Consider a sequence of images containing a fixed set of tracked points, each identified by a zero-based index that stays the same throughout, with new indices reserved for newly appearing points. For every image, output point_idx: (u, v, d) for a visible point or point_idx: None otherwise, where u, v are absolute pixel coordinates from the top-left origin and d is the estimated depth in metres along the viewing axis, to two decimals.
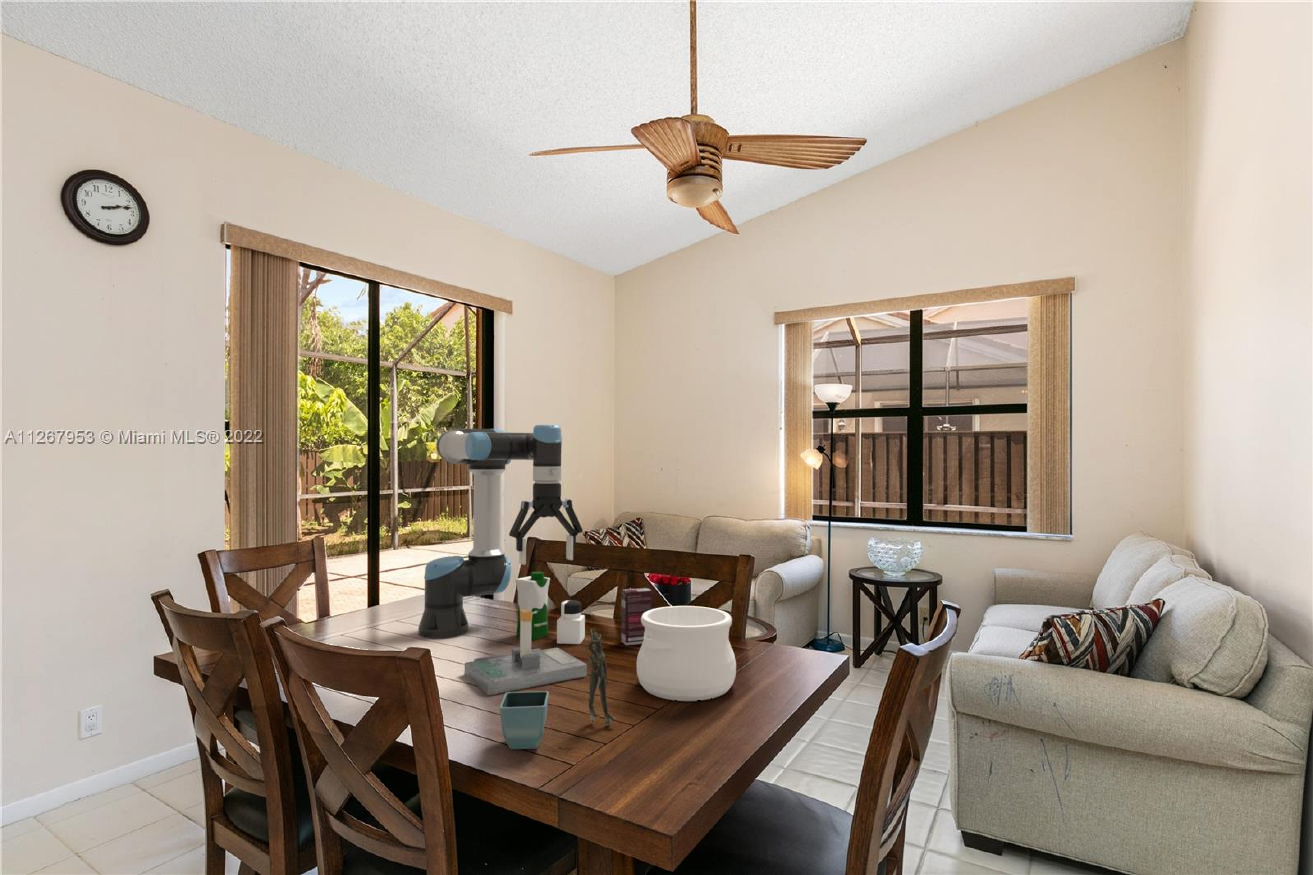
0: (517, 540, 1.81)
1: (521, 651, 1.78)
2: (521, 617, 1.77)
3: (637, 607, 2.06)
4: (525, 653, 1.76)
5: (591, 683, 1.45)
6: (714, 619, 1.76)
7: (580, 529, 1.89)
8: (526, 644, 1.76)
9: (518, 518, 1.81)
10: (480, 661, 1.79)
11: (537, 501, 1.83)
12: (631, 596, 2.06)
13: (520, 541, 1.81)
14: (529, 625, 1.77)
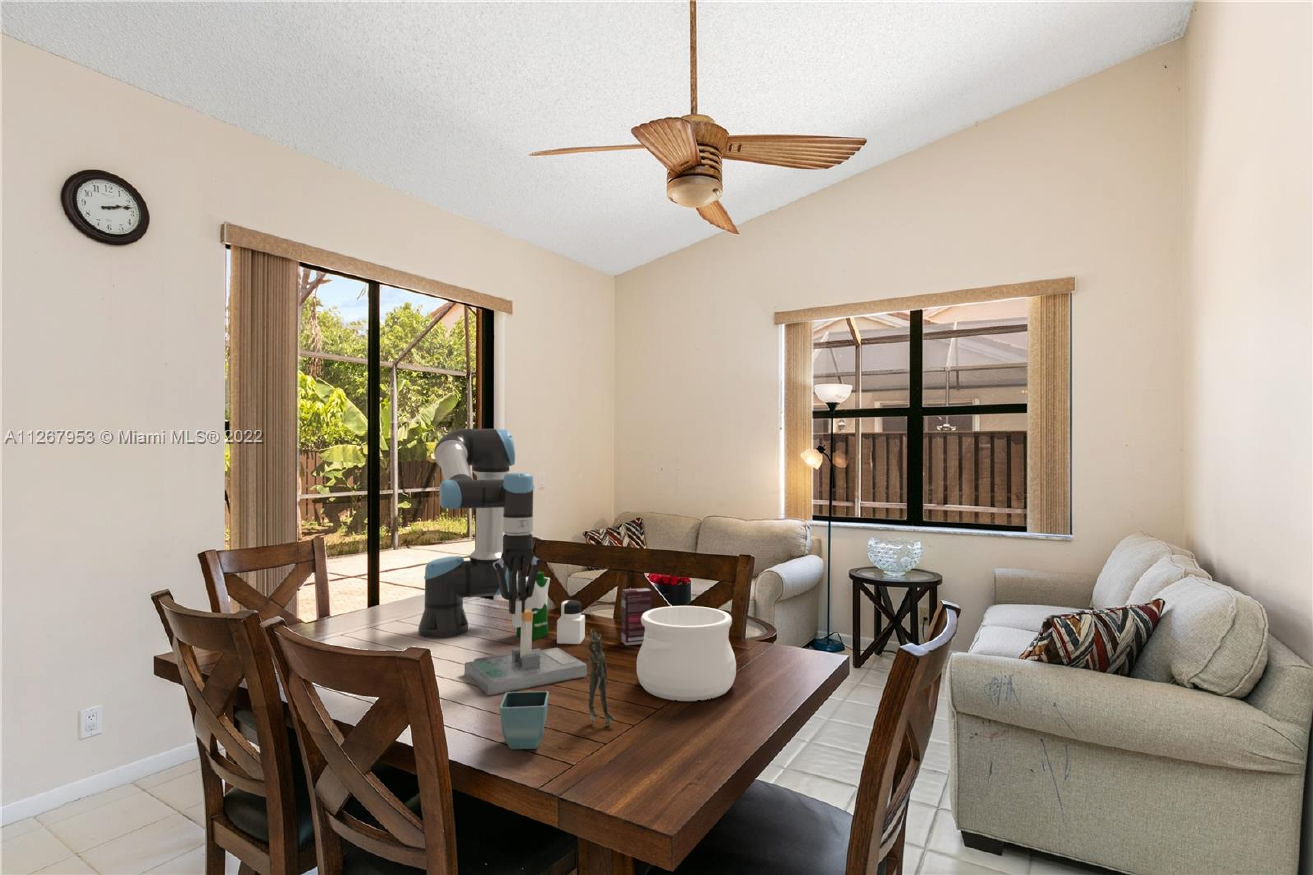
0: (510, 602, 1.75)
1: (521, 651, 1.78)
2: (522, 617, 1.78)
3: (638, 607, 2.06)
4: (525, 653, 1.76)
5: (591, 683, 1.45)
6: (714, 619, 1.76)
7: (530, 593, 1.77)
8: (527, 644, 1.76)
9: (500, 581, 1.74)
10: (480, 661, 1.79)
11: (505, 555, 1.74)
12: (631, 596, 2.06)
13: (513, 603, 1.75)
14: (529, 625, 1.77)
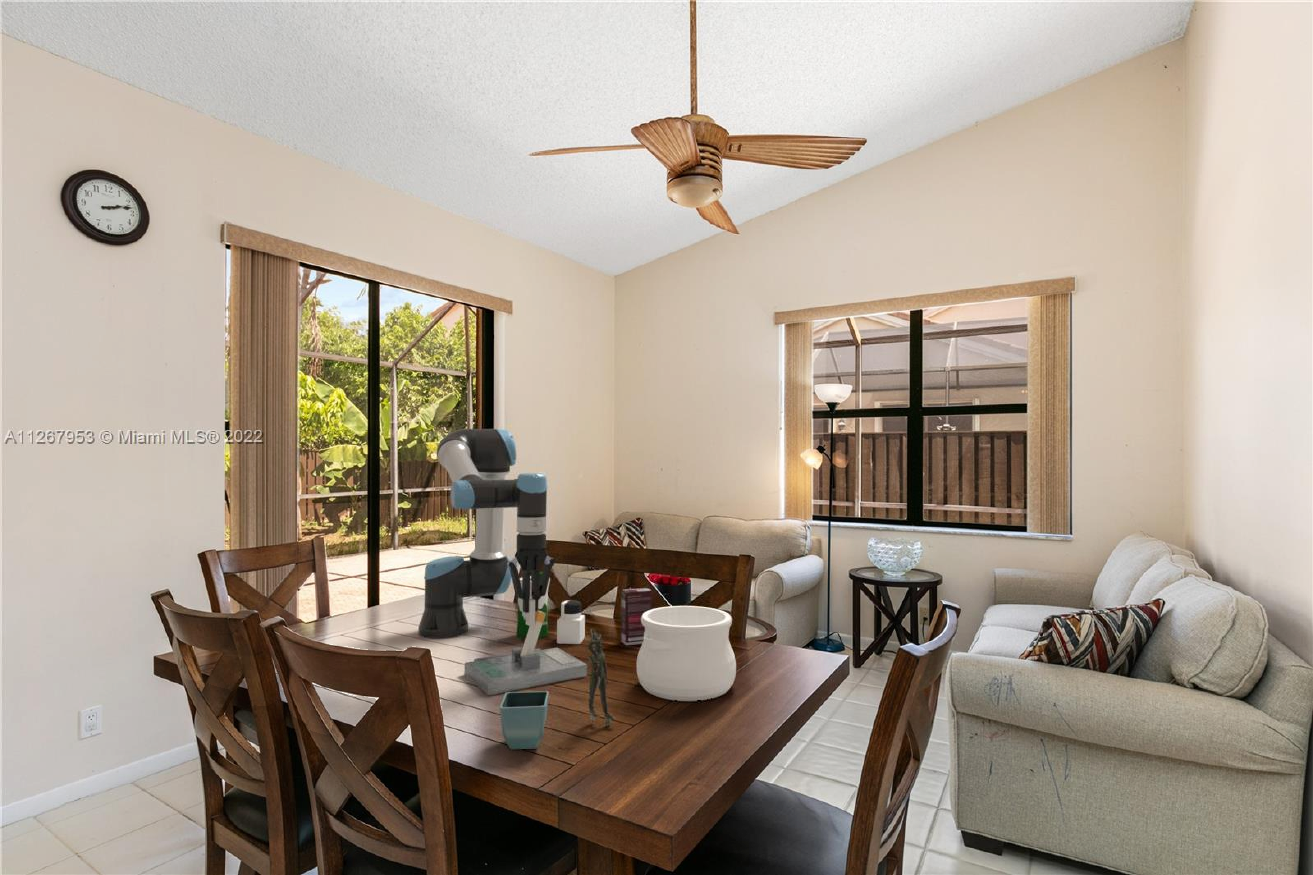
0: (524, 601, 1.77)
1: (523, 650, 1.78)
2: None
3: (637, 607, 2.06)
4: (527, 652, 1.76)
5: (591, 683, 1.45)
6: (714, 619, 1.76)
7: (544, 592, 1.79)
8: (531, 643, 1.77)
9: (514, 580, 1.76)
10: (480, 661, 1.79)
11: (519, 554, 1.76)
12: (631, 596, 2.06)
13: (527, 602, 1.77)
14: (539, 626, 1.78)
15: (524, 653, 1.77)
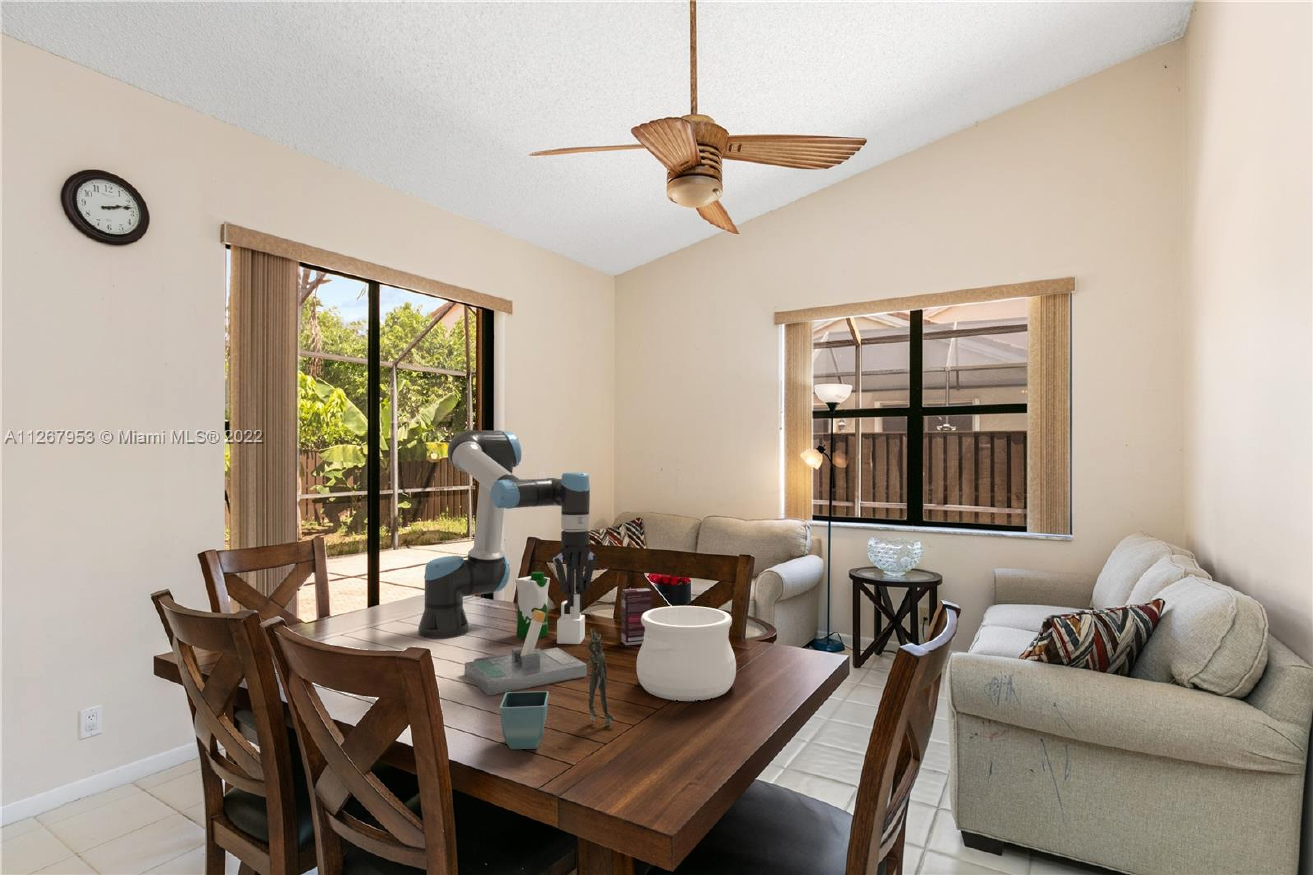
0: (568, 595, 1.84)
1: (523, 650, 1.78)
2: (534, 616, 1.79)
3: (638, 607, 2.06)
4: (527, 652, 1.76)
5: (591, 683, 1.45)
6: (714, 619, 1.76)
7: (587, 587, 1.86)
8: (531, 643, 1.77)
9: (559, 575, 1.83)
10: (480, 661, 1.79)
11: (564, 551, 1.83)
12: (631, 596, 2.06)
13: (571, 596, 1.84)
14: (539, 626, 1.78)
15: (524, 653, 1.77)
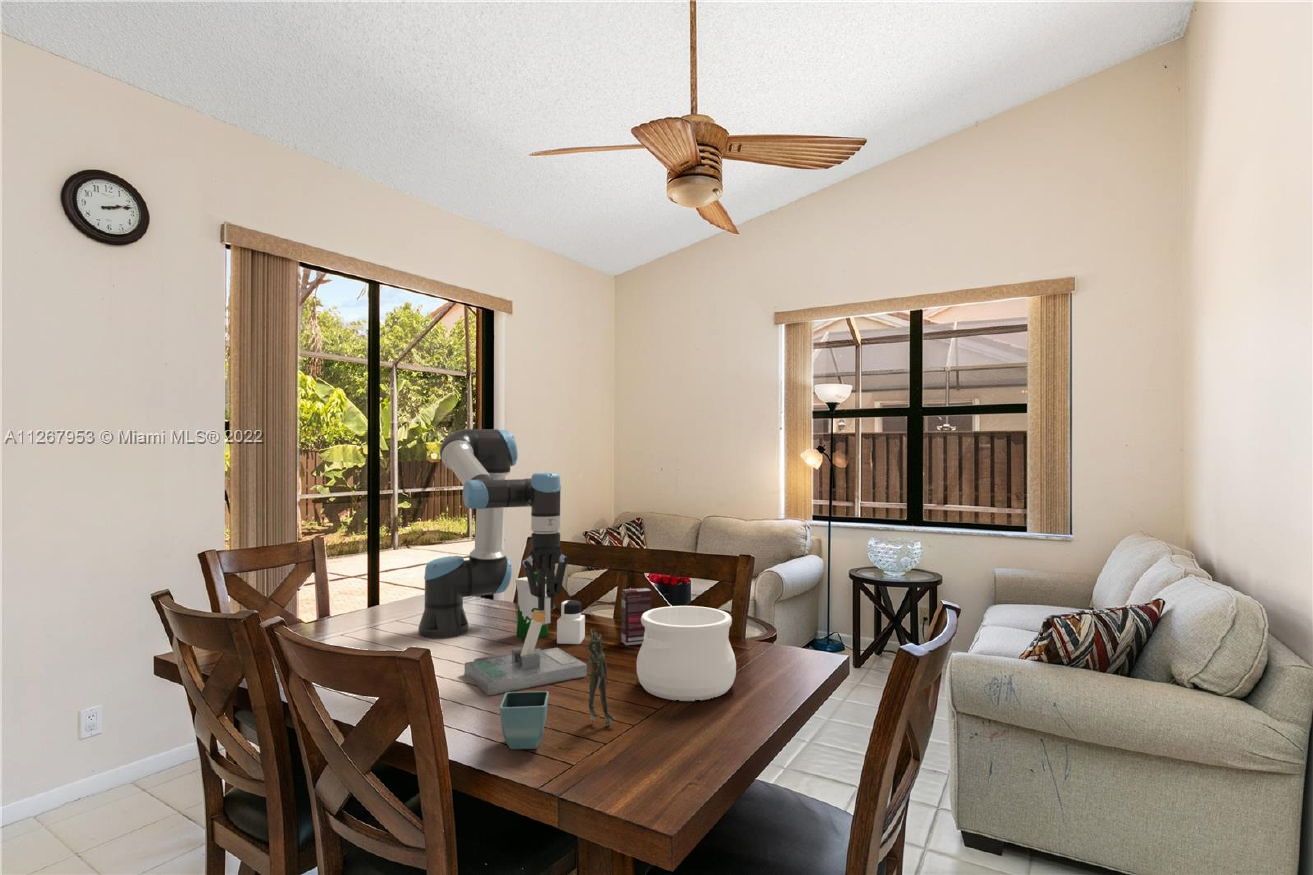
0: (539, 599, 1.80)
1: (523, 650, 1.78)
2: (534, 616, 1.79)
3: (638, 607, 2.06)
4: (527, 652, 1.76)
5: (591, 683, 1.45)
6: (714, 618, 1.76)
7: (558, 590, 1.82)
8: (531, 643, 1.77)
9: (529, 578, 1.78)
10: (480, 661, 1.79)
11: (534, 553, 1.78)
12: (631, 596, 2.06)
13: (542, 600, 1.80)
14: (539, 626, 1.78)
15: (524, 653, 1.77)
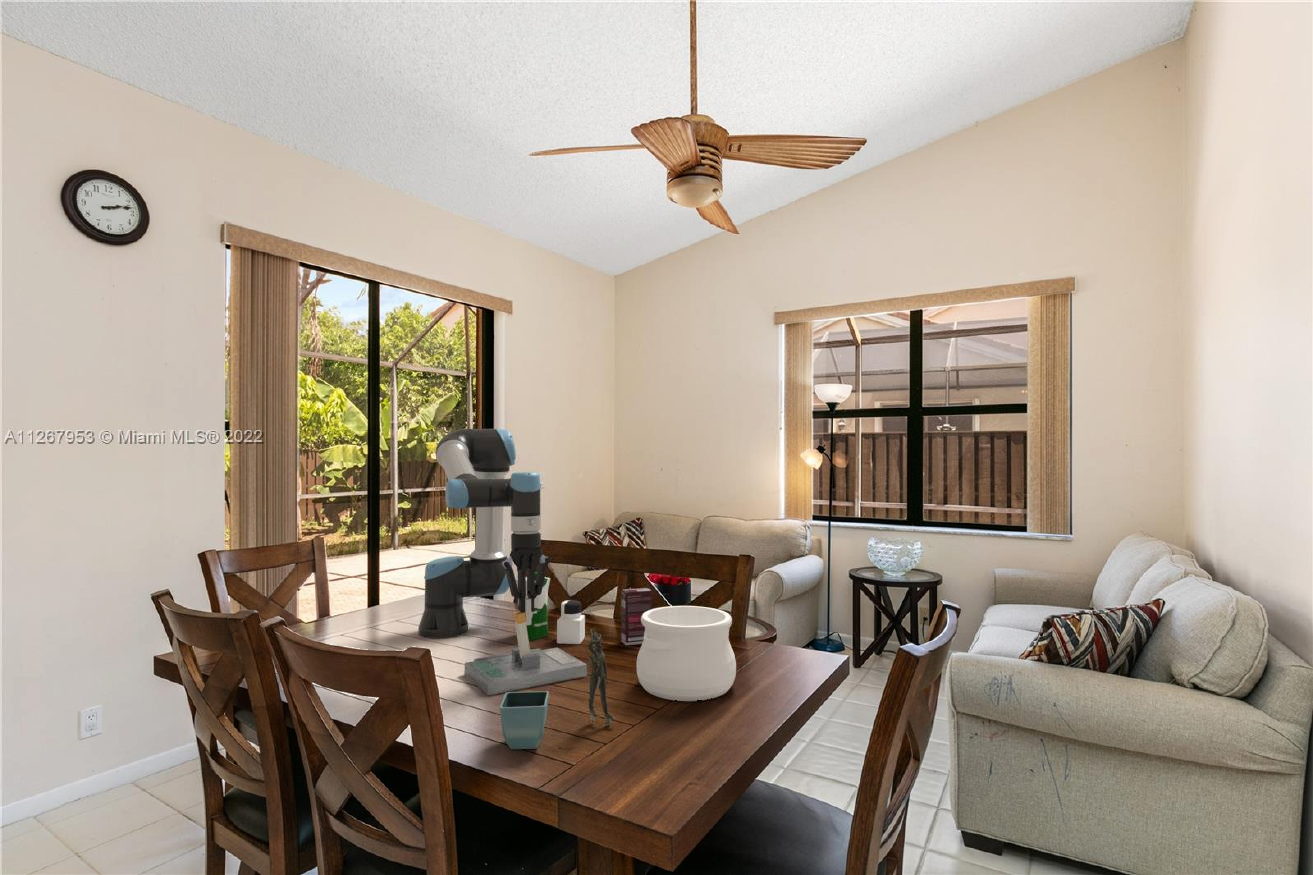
0: (520, 600, 1.77)
1: (520, 652, 1.78)
2: (515, 619, 1.77)
3: (637, 607, 2.06)
4: (524, 654, 1.76)
5: (591, 683, 1.45)
6: (714, 619, 1.76)
7: (539, 591, 1.79)
8: (524, 645, 1.76)
9: (509, 580, 1.75)
10: (480, 661, 1.79)
11: (514, 554, 1.75)
12: (631, 596, 2.06)
13: (523, 601, 1.77)
14: (524, 626, 1.76)
15: (522, 655, 1.77)
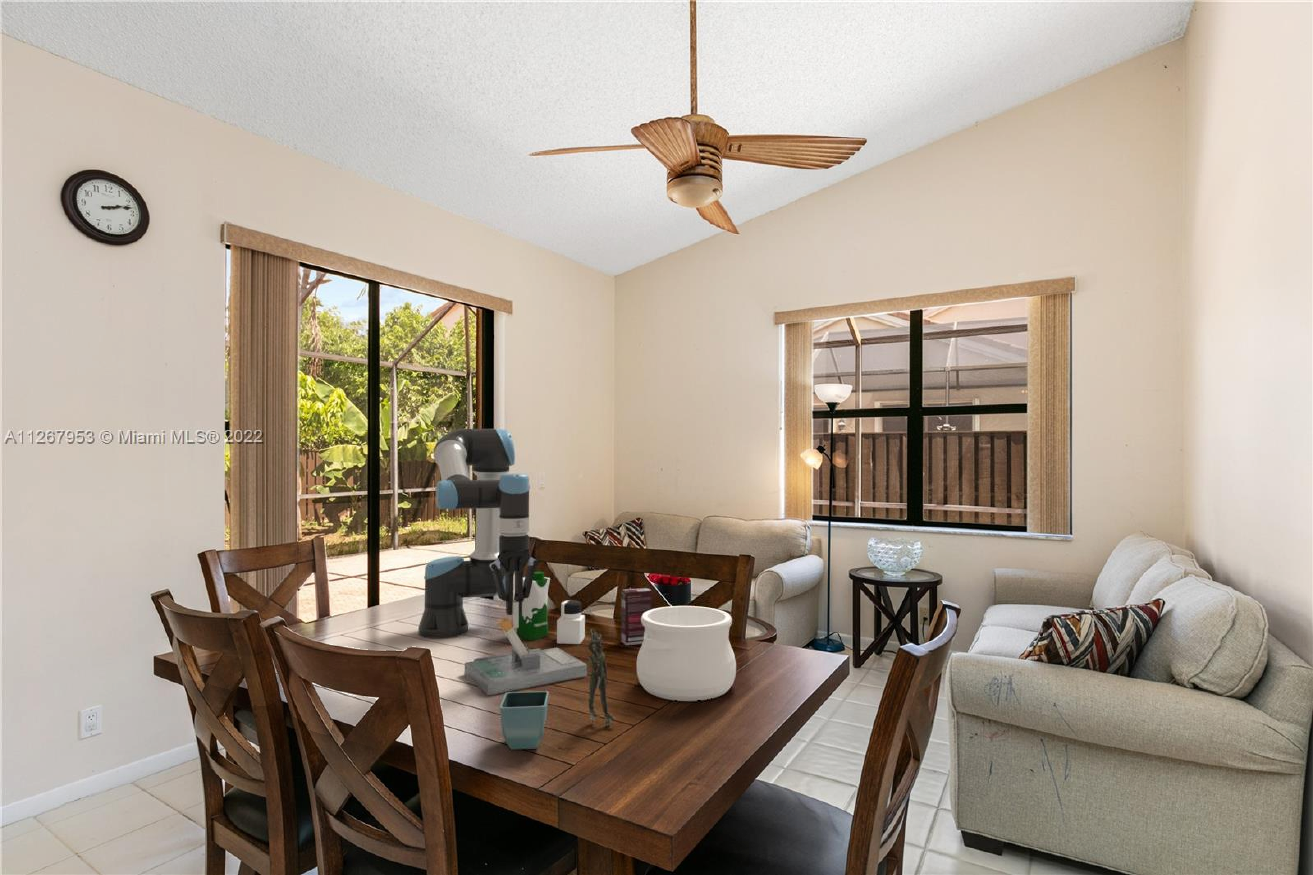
0: (507, 603, 1.75)
1: (518, 654, 1.77)
2: (502, 627, 1.75)
3: (637, 607, 2.06)
4: None
5: (591, 683, 1.45)
6: (714, 619, 1.76)
7: (527, 594, 1.77)
8: (519, 648, 1.75)
9: (496, 582, 1.73)
10: (480, 661, 1.79)
11: (501, 556, 1.73)
12: (631, 596, 2.06)
13: (510, 604, 1.75)
14: (512, 632, 1.74)
15: (521, 657, 1.77)
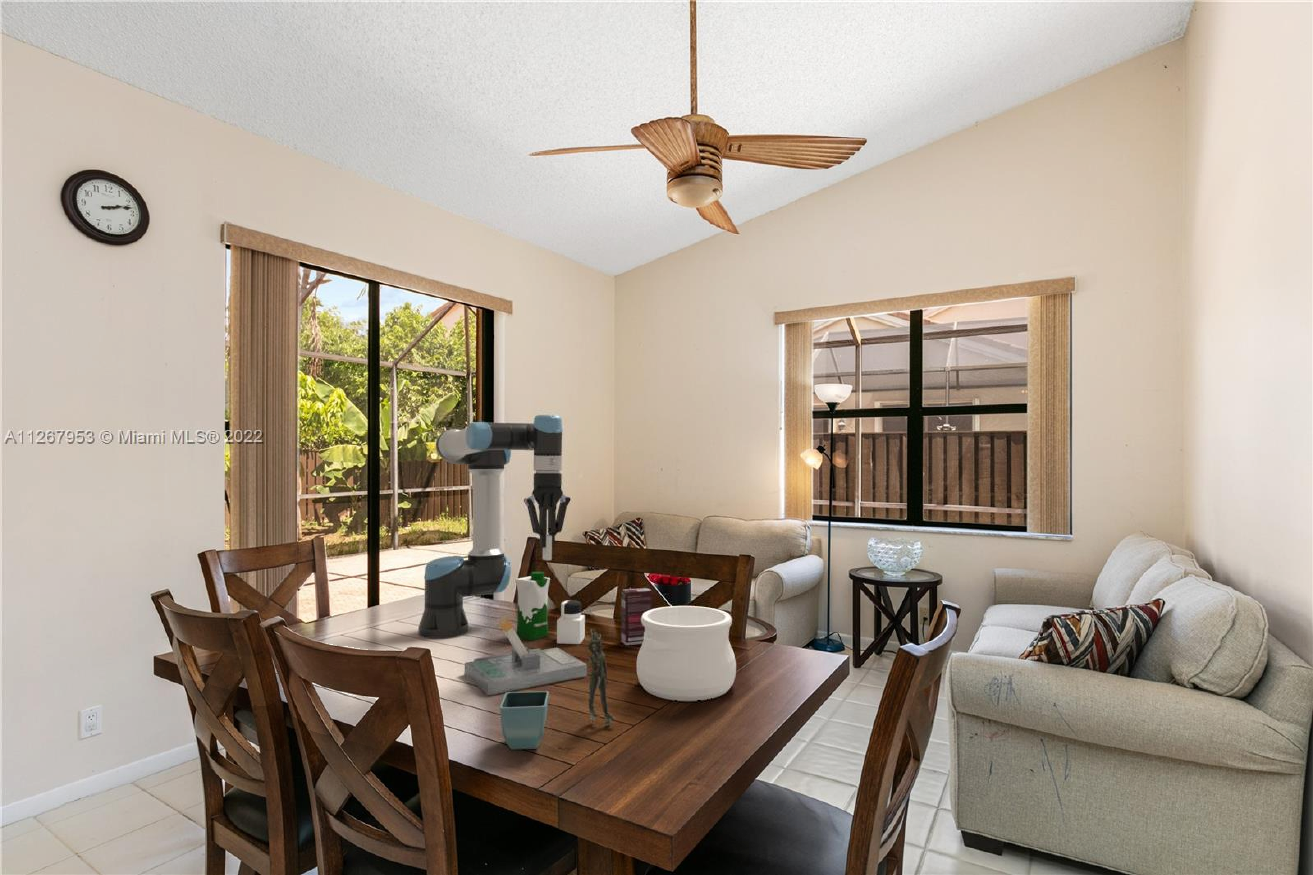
0: (541, 536, 1.86)
1: (518, 654, 1.77)
2: (502, 627, 1.75)
3: (637, 607, 2.06)
4: None
5: (591, 683, 1.45)
6: (714, 619, 1.76)
7: (560, 529, 1.87)
8: (519, 648, 1.75)
9: (531, 516, 1.84)
10: (480, 661, 1.79)
11: (536, 492, 1.84)
12: (631, 596, 2.06)
13: (543, 537, 1.85)
14: (512, 632, 1.74)
15: (521, 657, 1.77)
